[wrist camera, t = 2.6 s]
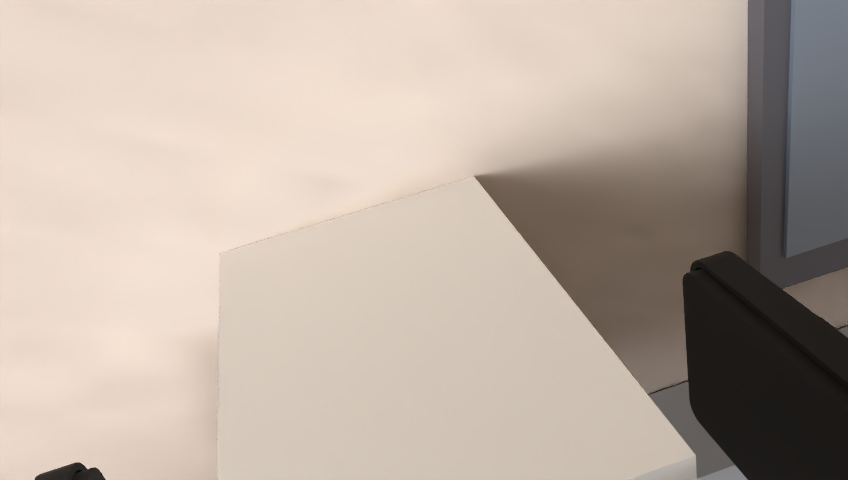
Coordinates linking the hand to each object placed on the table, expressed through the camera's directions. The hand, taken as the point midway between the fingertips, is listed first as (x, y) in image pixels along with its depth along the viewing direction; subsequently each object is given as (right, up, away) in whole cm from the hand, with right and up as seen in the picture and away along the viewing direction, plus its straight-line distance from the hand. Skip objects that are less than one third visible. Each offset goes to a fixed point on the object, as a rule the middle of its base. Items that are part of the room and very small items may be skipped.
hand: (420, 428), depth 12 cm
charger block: (-1, +1, +2) cm, 3 cm away
